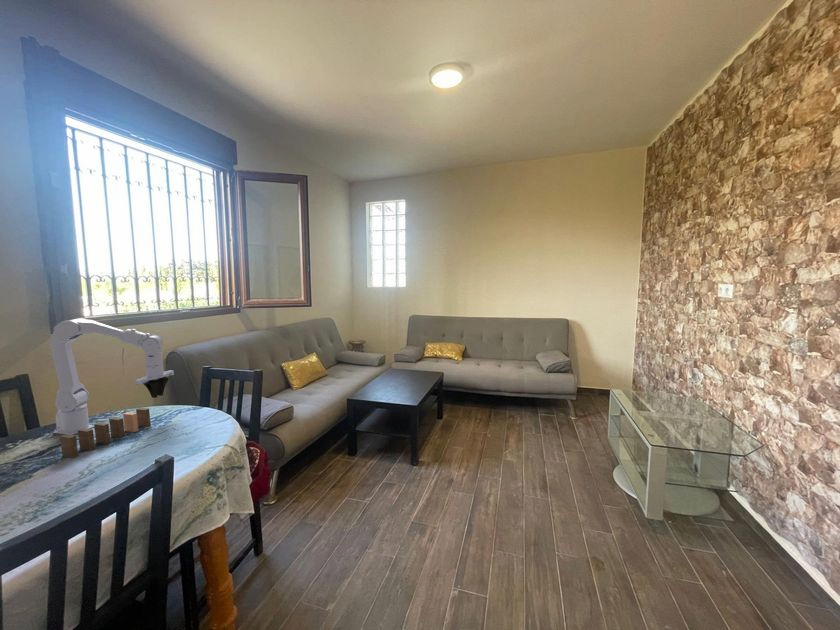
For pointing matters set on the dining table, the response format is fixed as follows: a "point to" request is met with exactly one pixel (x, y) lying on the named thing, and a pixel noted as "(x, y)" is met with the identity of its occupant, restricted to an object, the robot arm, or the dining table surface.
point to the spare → (130, 422)
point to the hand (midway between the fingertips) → (157, 396)
